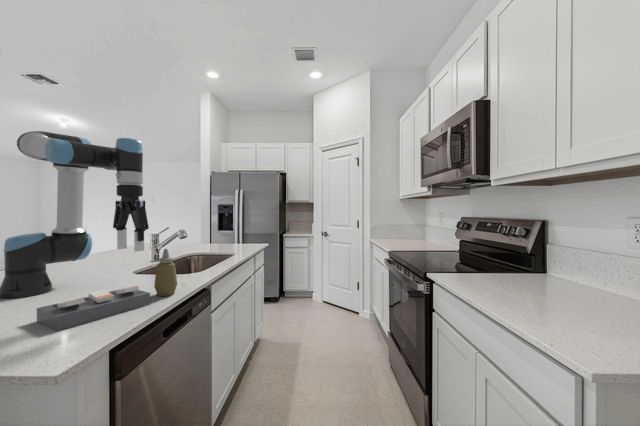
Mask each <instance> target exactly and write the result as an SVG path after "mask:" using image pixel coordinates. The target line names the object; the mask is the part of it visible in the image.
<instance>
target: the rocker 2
mask: <svg viewBox="0 0 640 426" xmlns="http://www.w3.org/2000/svg"><path fill="white" fill-rule="evenodd" d="M135 290H140V288H139V285H134V286H130V287H125V288H120V289H116V294H119V293H126V292H130V291H135Z"/></svg>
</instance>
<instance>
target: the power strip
mask: <svg viewBox="0 0 640 426" xmlns="http://www.w3.org/2000/svg"><path fill="white" fill-rule="evenodd" d="M116 290H117V289H116ZM116 290H112V291H111V290H110V291H108V292H109V293H110V294H112V295H113V296H114V298H113V299H112V300H108V301H104V302H100V303H97V302H96V301H95V300H93V299H92V298H90V297H89V295H88V296H84V297H80V298H79V299H81V298H83V299H84V300H85V302H84V303H80V304H76V305H72V306H68V307H59V308H58V306H57V303H54V304H49V305H46V306H40V307H36V322H37V323H39V324H41V325H44V326H46V327H47V328H50V329H52V330H55V331H57V332H58V331H62V330H66V329H69V328H73V327H76V326H79V325H82V324H83V325H84V324H87V323H90V322H92V321H93V322H94V321H96V320H100V319H103V318H107V317H111V316H114V315H117V314H120V313H121V314H122V313H125V312H128V311H130V310H134V309H139V308H142V307H145V306H148V305H151V292H148V291H144V290H141V289H139V290H135V291H130V292H126V293H119V294H116Z"/></svg>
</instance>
